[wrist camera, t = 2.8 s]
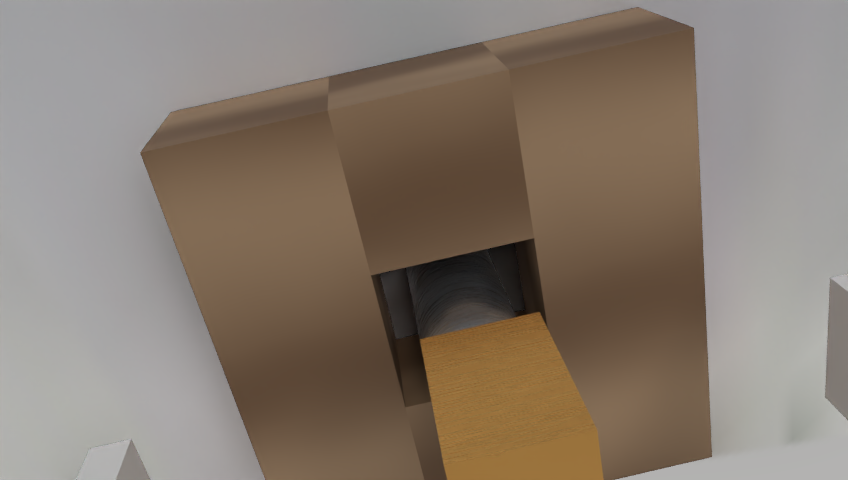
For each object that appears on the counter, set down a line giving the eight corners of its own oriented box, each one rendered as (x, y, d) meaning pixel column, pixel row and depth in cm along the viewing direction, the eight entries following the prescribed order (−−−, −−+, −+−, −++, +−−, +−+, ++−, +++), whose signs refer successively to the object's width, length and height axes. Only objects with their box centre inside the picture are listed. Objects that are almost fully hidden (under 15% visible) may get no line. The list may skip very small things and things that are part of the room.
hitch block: (171, 112, 17) (140, 152, 14) (638, 7, 17) (694, 27, 15) (299, 472, 22) (293, 554, 19) (665, 387, 22) (711, 456, 19)
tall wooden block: (386, 188, 19) (435, 467, 10) (473, 169, 19) (605, 428, 10) (426, 354, 21) (496, 710, 12) (504, 336, 21) (635, 677, 12)
